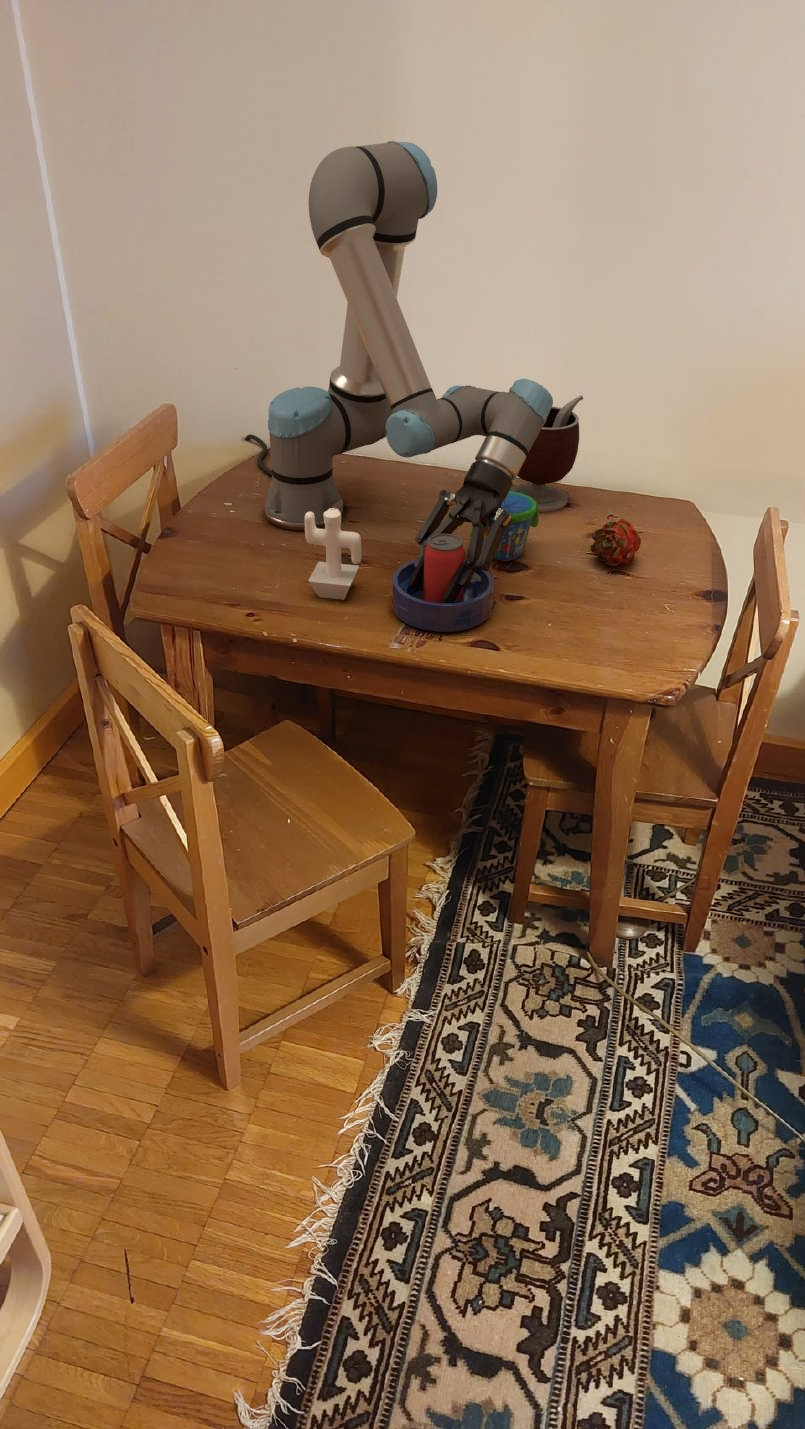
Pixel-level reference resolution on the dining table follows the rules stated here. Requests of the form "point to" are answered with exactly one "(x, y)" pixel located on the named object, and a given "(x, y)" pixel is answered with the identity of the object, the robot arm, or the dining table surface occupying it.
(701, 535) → the dining table surface
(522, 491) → the mate gourd
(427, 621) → the bowl
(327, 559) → the figurine
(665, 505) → the dining table surface
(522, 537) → the snack cup
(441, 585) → the beer can
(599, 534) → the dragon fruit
